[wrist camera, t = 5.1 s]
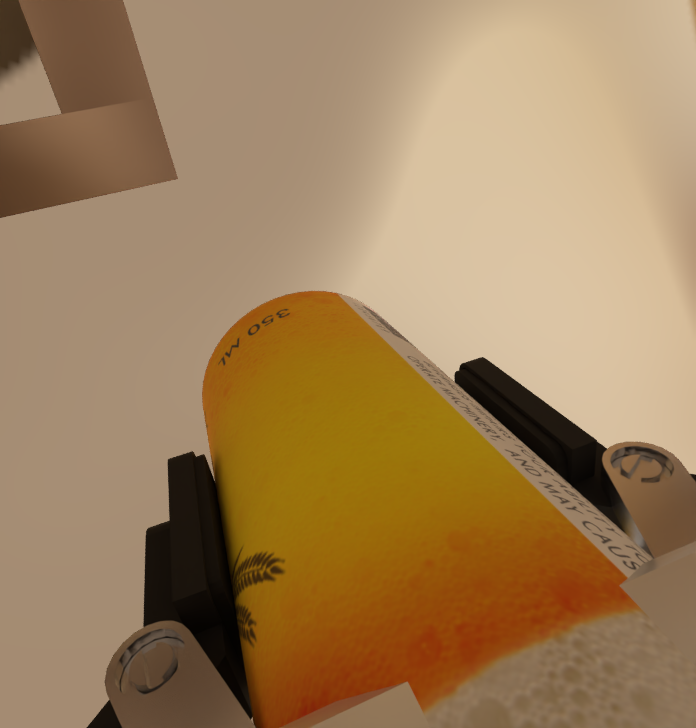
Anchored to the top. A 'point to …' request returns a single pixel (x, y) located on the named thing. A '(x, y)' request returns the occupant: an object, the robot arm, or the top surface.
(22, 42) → the top surface
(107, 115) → the brown wooden slotted block
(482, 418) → the beer can
